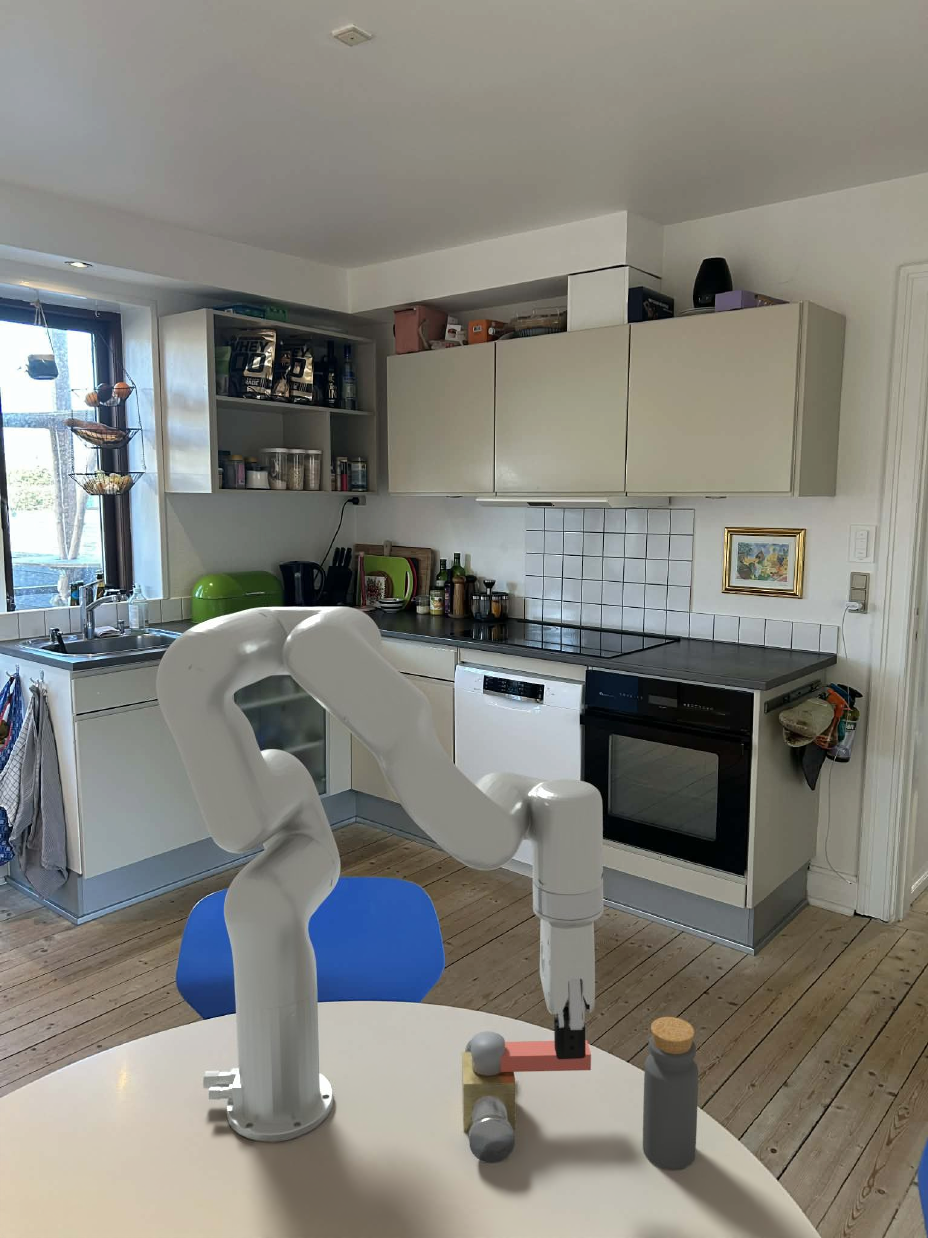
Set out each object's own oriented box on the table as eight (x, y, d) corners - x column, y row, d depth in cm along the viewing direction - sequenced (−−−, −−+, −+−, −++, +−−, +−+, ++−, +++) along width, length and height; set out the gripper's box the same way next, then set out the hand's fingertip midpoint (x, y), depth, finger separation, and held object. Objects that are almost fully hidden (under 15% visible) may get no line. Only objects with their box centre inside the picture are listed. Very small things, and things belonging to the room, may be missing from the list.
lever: (471, 1076, 106) (471, 1052, 106) (470, 1055, 110) (470, 1032, 110) (591, 1073, 107) (592, 1050, 106) (586, 1052, 111) (586, 1029, 110)
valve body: (464, 1163, 101) (464, 1114, 100) (461, 1071, 117) (460, 1028, 116) (519, 1162, 101) (519, 1113, 100) (507, 1070, 117) (507, 1027, 116)
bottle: (682, 1179, 99) (686, 1051, 97) (633, 1155, 102) (636, 1031, 100) (703, 1148, 103) (708, 1025, 101) (656, 1126, 107) (659, 1007, 105)
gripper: (526, 869, 105) (529, 1017, 108) (540, 931, 91) (543, 1101, 93) (591, 867, 106) (592, 1015, 108) (616, 928, 91) (617, 1097, 93)
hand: (570, 1054), depth 101 cm, fingers closed
